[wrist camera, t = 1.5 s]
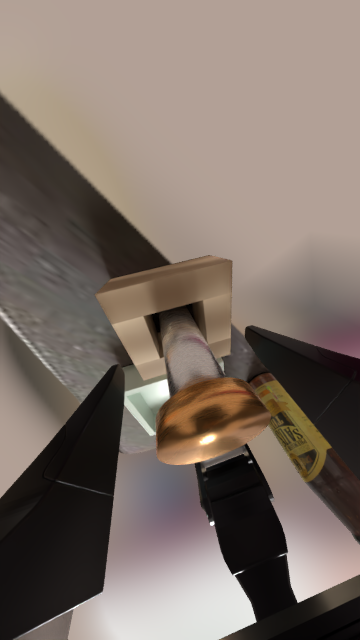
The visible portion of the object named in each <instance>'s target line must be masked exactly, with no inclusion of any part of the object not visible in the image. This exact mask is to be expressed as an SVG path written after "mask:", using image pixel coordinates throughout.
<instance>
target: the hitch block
mask: <svg viewBox="0 0 360 640" xmlns="http://www.w3.org/2000/svg"><path fill="white" fill-rule="evenodd" d="M95 296H96V298H97V300H98V301H99V303H100V305H101V307H102V308H103V310H104V312H105V314H106V315H107V317H108V319H109V321H110V322H111V324H112V326H113V328H114V329H115V331H116V333H117V335H118V336H119V338H120V340H121V342H122V343H123V345H124V347H125V349H126V350H127V352H128V354H129V356H130V357H131V359H132V361H133V363H134V364H135V366H136V368H137V370H138V371H139V373H140V375H141V377H142V378H143V380H147V379H151V378H154V377H157V376H161V375H164V374H166V367H165V360H164V352H163V345H162V338H161V332H158V333H157V330H156V327H155V324H154V321H153V319H152V316H151V314H153V313H157V312H161V311H164V310H168V309H172V308H176V307H179V306H183V305H187V304H191V303H192V307H193V313H194V319H195V323H196V325H197V326H198V328H199V330H200V332H201V333H202V335H203V337H204V338H205V340H206V342H207V344H208V345H209V347H210V349H211V351H212V352H213V354H214V356H215V358H216V359H217V358H220V357H223V356H227V355H230V346H231V298H232V297H231V296H232V261H231V260H227V259H223V258H219V257H215V256H210V255H208V256H204V257H199V258H195V259H191V260H188V261H183V262H179V263H175V264H171V265H166V266H162V267H158V268H154V269H150V270H146V271H142V272H138V273H133V274H129V275H125V276H121V277H117V278H113V279H110V280H109V281H108V282H107V283H106V284H105V285H104V286H103V287H102V288H101V289H100V290H99V291H98V292H97V293H96V294H95Z"/></svg>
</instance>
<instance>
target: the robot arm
mask: <svg viewBox="0 0 360 640" xmlns="http://www.w3.org/2000/svg"><path fill="white" fill-rule="evenodd" d="M245 338H246V340H247V342H248V343H249V345H250V346H251V348H252V349H253V351H254V352H255V354H256V355H257V357H258V358H259V359H260V360H261V362H262V363H263V364H264V365H265V366H266V368H267V369H268V370H269V371H270V373H271V374H272V375H273V376H274V377H275V379H276V380H277V381H278V382H279V383H280V385H281V386H282V387H283V388H284V390H285V391H286V392H287V393H288V394H289V396H290V397H291V398H292V399H293V401H294V402H295V403H296V404H297V405H298V407H299V408H300V409H301V410H302V411H303V413H304V414H305V415H306V416H307V418H308V419H309V420H310V421H311V422H312V424H314V426H315V427H316V429H317V430H318V431H319V432H320V434H321V435H322V436H323V437H324V438H325V440H326V441H327V442H328V443H329V445H330V446H331V447H332V448H333V449H334V451H335V452H336V453H337V454H338V455H339V457H340V458H341V459H342V460H343V462H344V463H345V464H346V465H347V466H348V468H349V469H350V470H351V471H352V472H353V474H354V475H355V476H356V477H357V479H358V480H359V481H360V359H358V358H355V357H351V356H348V355H344V354H341V353H337V352H334V351H330V350H327V349H324V348H321V347H318V346H314V345H311V344H308V343H305V342H302V341H299V340H296V339H292V338H290V337H287V336H284V335H280V334H277V333H274V332H271V331H268V330H265V329H261V328H258V327H255V326H247V327H246V329H245ZM124 400H125V373H124V371H123V369H122V368H121V366H120V365H119V364H116V365H113V366H111V368H110V369H109V370H108V371H107V373H106V374H105V375H104V376H103V377H102V379H101V380H100V381H99V382H98V384H97V385H96V386H95V387H94V389H93V390H92V391H91V392H90V394H89V395H88V396H87V397H86V398H85V400H84V401H83V402H82V403H81V405H80V406H79V407H78V408H77V410H76V411H75V412H74V413H73V415H72V416H71V417H70V418H69V419H68V421H67V422H66V424H65V425H64V426H63V427H62V428H61V429H60V431H59V432H58V433H57V434H56V435H55V437H54V438H53V439H52V440H51V441H50V443H49V444H48V445H47V446H46V447H45V449H44V450H43V451H42V452H41V453H40V454H39V455H38V457H37V458H36V459H35V460H34V461H33V462H32V463H31V465H30V466H29V467H28V468H27V469H26V470H25V471H24V472H23V473H22V475H21V476H20V477H19V478H18V479H17V480H16V481H15V482H14V484H13V485H12V486H11V487H10V488H9V489H8V490H7V491H6V493H5V494H4V495H3V496H2V497H1V498H0V640H68V639H67V638H68V633H69V628H70V624H71V619H72V614H73V609H74V608H75V607H77V606H79V605H80V604H83V603H84V602H86V601H88V600H90V599H92V598H94V597H96V596H97V595H99V594H101V593H102V592H103V587H104V579H105V570H106V562H107V553H108V544H109V534H110V526H111V517H112V508H113V499H114V497H113V496H114V489H115V480H116V471H117V461H118V454H119V445H120V436H121V427H122V418H123V409H124ZM242 453H244V454H245V455H244V454H242ZM240 454H241V455H240ZM237 455H238V456H237ZM235 456H236V457H235ZM232 457H233V458H232ZM229 458H231V459H229ZM227 459H228V460H227ZM224 460H225V461H224ZM222 461H223V462H222ZM219 462H220V463H219ZM216 463H218V464H216ZM214 464H215V465H214ZM211 465H212V466H211ZM209 466H210V467H209ZM206 467H207V468H206ZM195 468H196V473H197V479H198V487H199V495H200V503H201V507H202V509H203V510H204V511H205V512H206V515H207V517H208V519H209V523H210V525H211V526H212V525H215V529H216V533H217V537H218V541H219V545H220V549H221V552H222V554H223V558H224V560H225V562H226V564H227V566H228V568H229V570H230V571H231V573H232V575H235V577H236V578H237V580H238V581H239V583H240V585H241V587H242V588H243V590H244V592H245V593H246V595H247V597H248V598H249V600H250V602H251V604H252V607H253V611H254V614H255V618H256V621H257V622H256V623H254V624H252V625H250V626H247V627H245V628H243V629H241V630H239V631H237V632H235V633H232V634H230V635H228V636H226V637H224V638H222V639H219V640H360V575H358V576H356V577H353V578H351V579H349V580H347V581H345V582H343V583H341V584H338V585H336V586H334V587H332V588H330V589H328V590H325V591H323V592H321V593H319V594H317V595H314V596H313V597H310V598H308V599H306V600H304V601H302V602H299V603H297V600H296V598H295V595H294V593H293V590H292V588H291V584H290V577H289V569H288V562H287V555H286V554H287V553H288V550H287V544H286V539H285V534H284V532H283V528H282V525H281V523H280V521H279V519H278V516H277V514H276V512H275V510H274V508H273V505H272V503H271V502H273V501H274V497H273V494H272V492H271V490H270V487H269V485H268V483H267V481H266V479H265V477H264V475H263V473H262V471H261V469H260V467H259V465H258V463H257V461H256V459H255V458H254V456H253V454H252V452H251V450H250V448H249V446H248V445H247V443H246V444H244V445H242V446H240V447H239V448H237V449H235V450H232V451H230V452H228V453H225V454H223V455H220V456H218V457H215V458H212V459H208V460H205V461H201V462H196V463H195ZM205 468H206V469H205Z"/></svg>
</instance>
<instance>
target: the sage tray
mask: <svg viewBox="0 0 360 640" xmlns="http://www.w3.org/2000/svg"><path fill="white" fill-rule="evenodd" d="M217 361H218V363H219V365H220V366H221V368H222V370H223V371H224V362H223V360H222V358H221V357H220V358H217ZM122 369H123V371H124V373H125V400H124V405H125V406H126V407H127V409H128V410H129V411H130V412H131V413H132V415H133V416H134V417H135V418H136V419H137V420H138V422H139V423H140V424H141V425H142V426H143V428H144V429H145V430H146V431H147V432H148V433H149V435H150V436H152V435H155V434H156V424H155V420H156V415H157V413H158V411H159V409H160V408H161V407H162V405H163V404H164V403H165V402H166V401H167V400H168V399H170V397H169V389H168V382H167V374H164V375H161V376H157V377H154V378H151V379H147V380H143V378H142V377H141V375H140V373H139V371H138V370H137V368H136V366H135V364H133V365H129V366H126V367H122Z"/></svg>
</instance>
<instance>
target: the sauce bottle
mask: <svg viewBox="0 0 360 640" xmlns="http://www.w3.org/2000/svg"><path fill="white" fill-rule="evenodd" d="M249 384H250V385H251V386H252V388H253V389H254V391H255V392H256V394H257V395H258V396H259V398H260V399H261V401H262V402H263V403H264V405H265V406H266V408H267V409H268V410H269V412H270V414H271V420H270V422H269V424H268V425H269V427H270V429H271V430H272V432H273V433H274V435H275V436H276V438H277V439H278V441H279V443H280V444H281V446H282V447H283V449H284V451H285V452H286V454H287V455H288V457H289V459H290V460H291V461H292V463H293V465H294V466H295V468H296V470H297V471H298V473H299V474H300V476H301V477H302V479H303V480H304V482H305V483H306V484H307V485H308V486H309V487H310V488H311V489H312V490H313V492H314V493H315V494H316V495H317V496H318V497H319V498H320V499H321V500H322V501H323V502H324V503H325V505H326V506H327V507H328V508H329V509H330V510H331V511H332V512H333V513H334V515H336V517H337V518H338V519H339V520H340V521H341V522H342V523H343V524H344V525H345V526H346V527H347V529H348V530H349V531H350V532H351V533H352V535H353V537H354V538H355V540H356V541H357V542H358V543H359V544H360V481H359V480H358V479H357V477H356V476H355V475H354V474H353V472H352V471H351V470H350V469H349V468H348V466H347V465H346V464H345V463H344V462H343V460H342V459H341V458H340V457H339V455H338V454H337V453H336V452H335V451H334V449H333V448H332V447H331V446H330V445H329V443H328V442H327V441H326V440H325V438H324V437H323V436H322V435H321V434H320V432H319V431H318V430H317V429H316V427H315V426H314V424H312V422H311V421H310V420H309V419H308V418H307V416H306V415H305V414H304V413H303V411H302V410H301V409H300V408H299V407H298V405H297V404H296V403H295V402H294V401H293V399H292V398H291V397H290V396H289V394H288V393H287V392H286V391H285V390H284V388H283V387H282V386H281V385H280V383H279V382H278V381H277V380H276V379H275V377H274V376H273V375H272V374H271V373H264V374H260V375H259V376H257V377H255V378H254V379H253V380H251V381H250V383H249Z"/></svg>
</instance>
